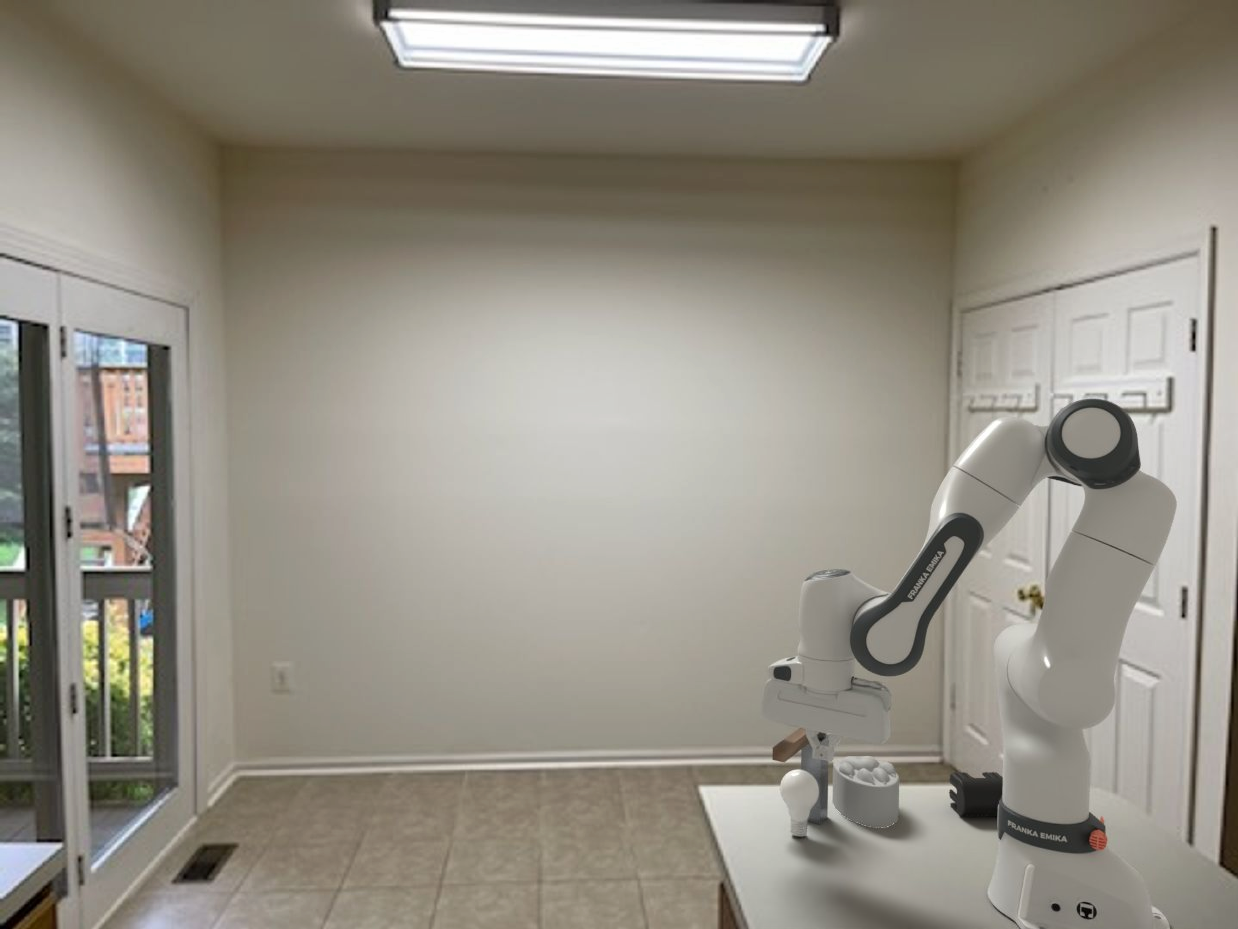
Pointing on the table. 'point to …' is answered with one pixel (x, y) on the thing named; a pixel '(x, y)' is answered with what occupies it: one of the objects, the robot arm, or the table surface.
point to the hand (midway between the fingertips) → (823, 759)
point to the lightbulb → (799, 798)
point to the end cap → (976, 794)
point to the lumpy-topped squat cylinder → (866, 790)
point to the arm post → (821, 775)
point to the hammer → (792, 745)
